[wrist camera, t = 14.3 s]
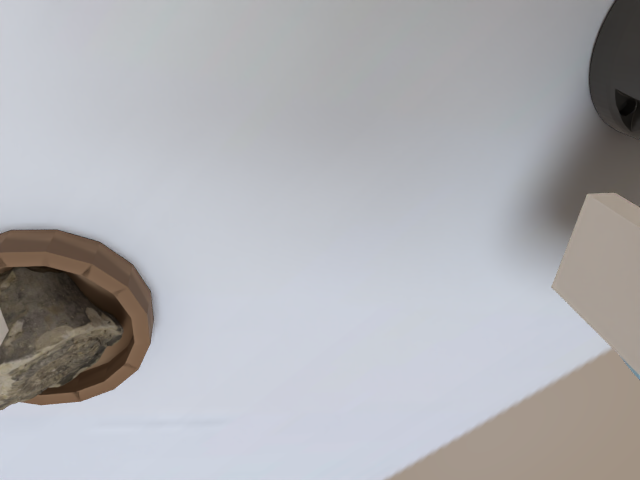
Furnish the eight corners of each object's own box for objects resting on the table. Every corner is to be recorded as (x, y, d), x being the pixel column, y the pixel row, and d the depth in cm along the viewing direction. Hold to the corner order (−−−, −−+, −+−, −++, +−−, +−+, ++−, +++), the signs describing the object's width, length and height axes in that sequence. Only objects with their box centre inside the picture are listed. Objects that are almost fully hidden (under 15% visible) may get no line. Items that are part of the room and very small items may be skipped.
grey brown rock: (104, 383, 42) (11, 471, 33) (19, 328, 42) (-98, 399, 33) (145, 295, 37) (50, 368, 28) (50, 233, 37) (-76, 286, 28)
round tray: (144, 228, 36) (139, 249, 34) (158, 369, 44) (156, 394, 42) (-89, 231, 33) (-113, 255, 30) (-28, 384, 41) (-43, 412, 38)
